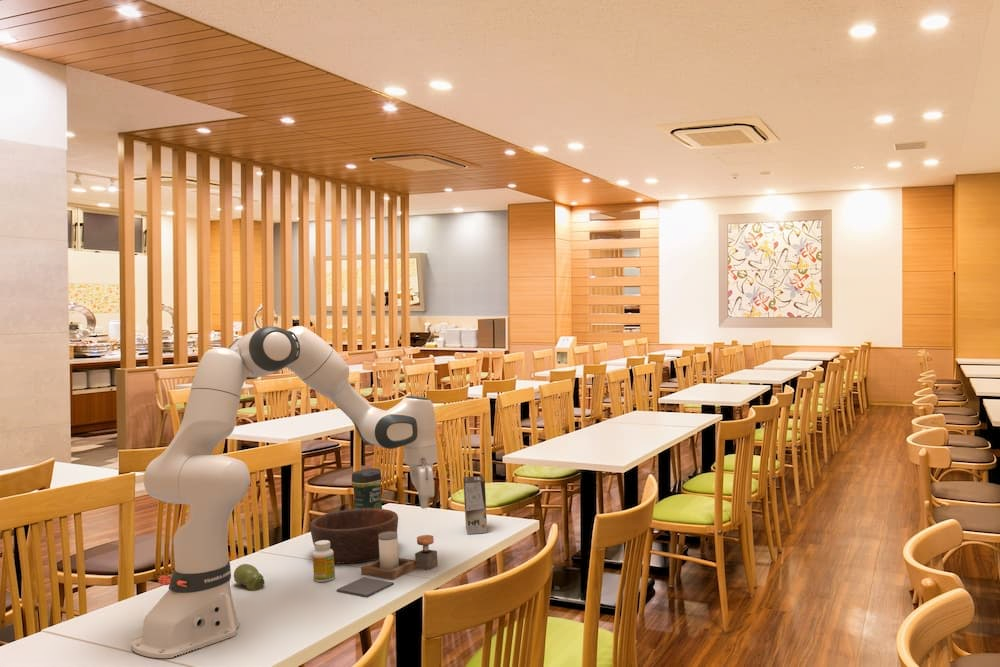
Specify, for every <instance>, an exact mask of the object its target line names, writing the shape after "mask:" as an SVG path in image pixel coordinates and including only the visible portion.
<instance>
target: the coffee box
mask: <svg viewBox="0 0 1000 667" xmlns="http://www.w3.org/2000/svg"><path fill="white" fill-rule="evenodd" d="M462 479H463V481H462V482H463V495H464V496H463V498H464V501H463V502H464V514H465V516H464V518H465V529H466V534H467V535H477V534H478V535H479V534H486V533H488V521H487V520H488V519H487V499H486V481H485V479H484V476H483V475H477V476H476V475H475V476H465V477H463V478H462Z"/></svg>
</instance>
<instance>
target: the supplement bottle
mask: <svg viewBox="0 0 1000 667" xmlns="http://www.w3.org/2000/svg"><path fill="white" fill-rule="evenodd" d="M314 549H315V550H313V552H312V568H313V569H312V570H313V571H312V572H313V580H314V582H317V583H325V582H330V581H333V580H334V579H335V577H336V572H335V570H336V569H335V563H334V553H333V550H332V549H330V541H328V540H321V541H317V542H315V547H314Z"/></svg>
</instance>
